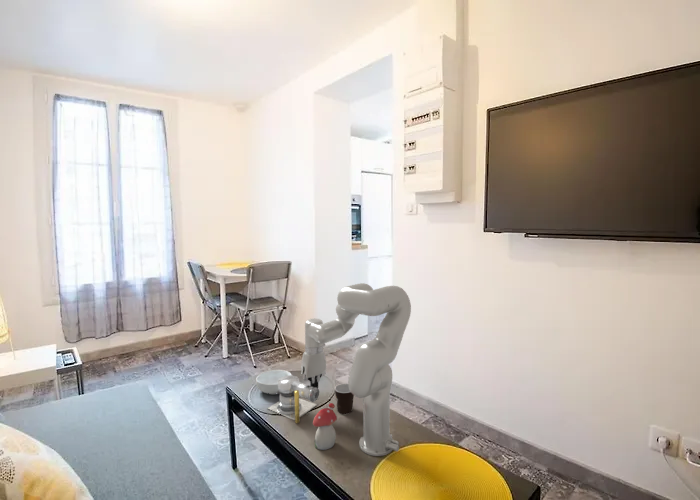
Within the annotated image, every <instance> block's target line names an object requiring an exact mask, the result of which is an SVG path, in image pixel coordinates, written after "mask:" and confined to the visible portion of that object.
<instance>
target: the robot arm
mask: <svg viewBox="0 0 700 500" xmlns="http://www.w3.org/2000/svg"><path fill="white" fill-rule="evenodd" d="M336 299H337V301H336V302H337V305H336V308H335V313H336V315H337V318H335V319H333V320H330V321H328V322H323V320H321V319H320V318H310V319H307V320H306V321H305V322H304V350H305V351H304V352H303V353H302V358H301V367H300V371H301V372H300V373H301V375H303V376H302V380H303V381H305V382H307V381H309V383H310V385H309V386H312V387H316V388H318V389H319V382H320V381H321V380H320V379H321V378H322V377H323V376H325V375H326V372H327V358H326V352H325V350H324V347H326V344H327V343H330V342H332V341H335V340H337V339H340V338H342V337H344V336H345V335H347V333H348V332H350V331H351V329H352V328H353V327H354V325H355V323H356V321H355V320H356V319H357V318H358V317H359V315H363V316H368V317H377V316H381V315H383V314H385V316H384V317H383V319H382V321H381V323H380V325H379V328H378V331H377V333H376V335H375V337H374V338H373V339H372V340H371V339H370V341H367V342H364V343H363V344H362V345H360V347H359V348H358V349H357V350H356V352H355V355H354V359H353V362H352V364H351V368H350V371H349V375H348V380H347V384H349V389H350V391H351V393H352V394H353V395H354V397H356V398H359V399H363V409H362V411H363V412H362V413H363V418H362V419H363V435H362V436H361V437H360V439H359V441H358V442H359V443H358V444H359V445H358V446H359V449H360V450H361V451H362V452H363V453H365V454H367V455H369V456H374V457H382V456H386V455H388V454H390V453H391V452H392V451H396V452H399V448H400V446H399V440H398V441H397V440H396V439H395V440H394V438H393V434H392V433H391V431H390V428H391V427H390V424H391V423H390V419H391V416H390V414H391V413H390V411H391V410H390V405H391V401H390V400H391V389H392V388H391V387H392V383H393V370H392V367H391V365H390V364H391V363H393V361H394V360H395V359H396V357H397V354H398V352H399V349H400V346H401V344H402V343H401V342H402V340H403V337H404V334H405V331H406V329H407V326H408V324H409V321H410V317H411V313H412V305H411V301H410V298H409V295H408V293H407V292H406V291H405V290H404V288H402V287H400V286H398V285H386V286H383V287H379V288H375V289H373V287H372V286H371V285H369V284H368V283H365V282H364V283H361V282H360V283H355V284H351V285H347V286H344V287H342V289H340V290H339V292H338V294H337V298H336Z"/></svg>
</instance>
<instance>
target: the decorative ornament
mask: <svg viewBox="0 0 700 500" xmlns="http://www.w3.org/2000/svg"><path fill="white" fill-rule="evenodd" d="M334 408H335V404H334V403H333V402H332V403H329V404H328V407H326V408H325V407H324V408H321V409H320V410H318V412H317V413H316V415H315V416H314V417H313V421H312V425H313V426H314V427H315V428H317V430H316V431H315V437H314V447H315V449H317V450H319V451H320V450H322V451H327V450H329V449H332V448H333V447H334V445H335V442H336V436H337V434H336V429H335V428H334V426H333V425H334V423H335V422H336V421H337V420H338V417H337V415H336V413H335V412H334Z"/></svg>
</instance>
